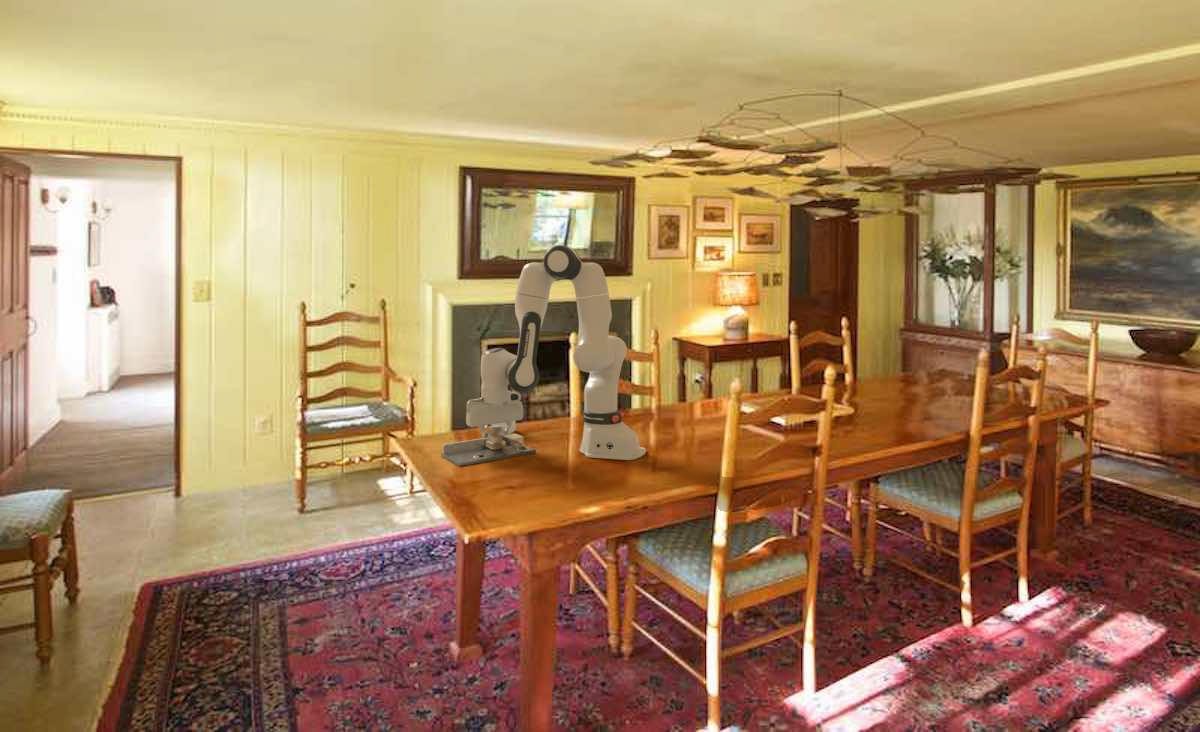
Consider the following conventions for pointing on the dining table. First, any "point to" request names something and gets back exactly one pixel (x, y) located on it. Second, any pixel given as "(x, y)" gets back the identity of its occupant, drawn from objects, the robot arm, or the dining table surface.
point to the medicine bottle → (503, 425)
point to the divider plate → (484, 450)
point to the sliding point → (495, 438)
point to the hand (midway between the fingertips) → (495, 436)
